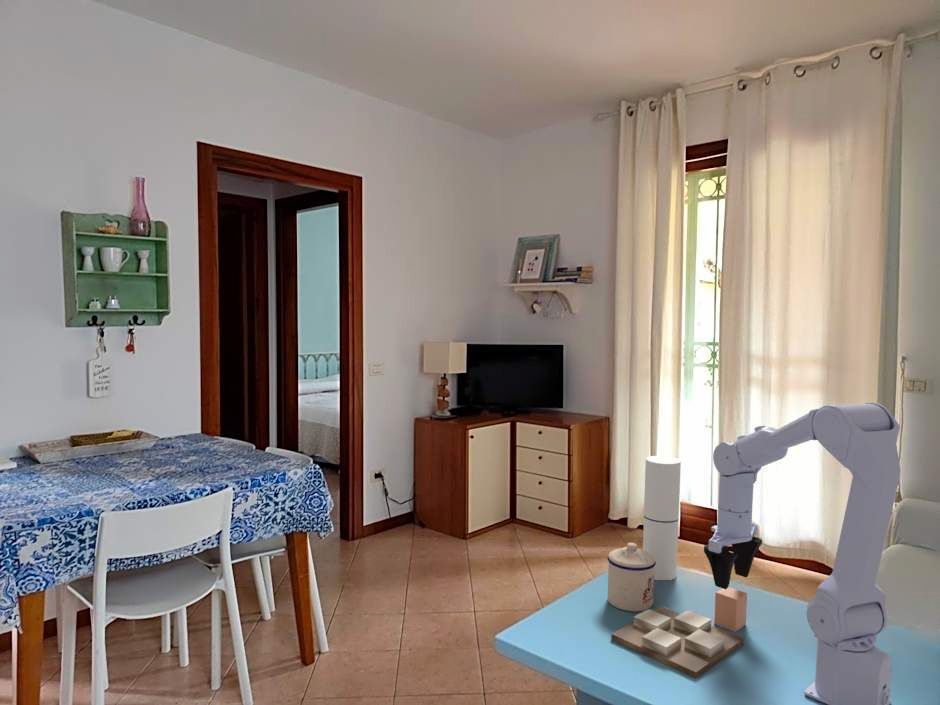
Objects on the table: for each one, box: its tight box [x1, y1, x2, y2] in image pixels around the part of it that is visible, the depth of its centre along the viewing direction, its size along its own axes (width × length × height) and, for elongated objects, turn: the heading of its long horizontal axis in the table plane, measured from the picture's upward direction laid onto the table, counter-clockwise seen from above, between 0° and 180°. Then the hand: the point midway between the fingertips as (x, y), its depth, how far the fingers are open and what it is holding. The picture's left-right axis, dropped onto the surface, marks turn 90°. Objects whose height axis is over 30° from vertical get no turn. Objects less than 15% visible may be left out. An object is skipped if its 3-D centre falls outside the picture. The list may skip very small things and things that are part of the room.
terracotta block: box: [713, 586, 748, 633], centre depth 123 cm, size 4×4×6 cm
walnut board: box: [610, 605, 745, 679], centre depth 117 cm, size 16×16×2 cm
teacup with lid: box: [607, 542, 656, 612], centre depth 133 cm, size 12×9×12 cm
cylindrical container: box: [642, 455, 682, 581], centre depth 145 cm, size 7×7×25 cm
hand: (731, 581), depth 123 cm, fingers open, 7 cm apart
